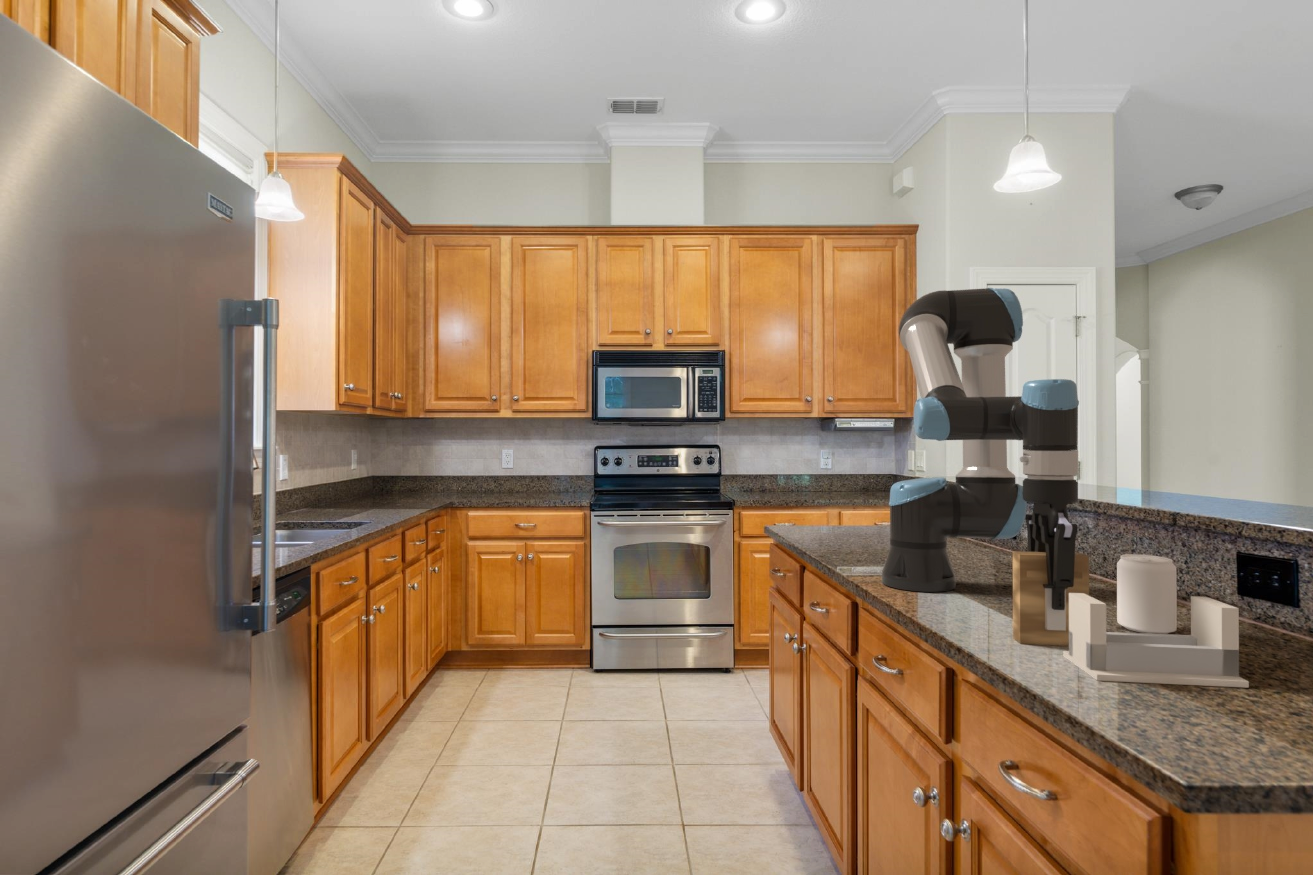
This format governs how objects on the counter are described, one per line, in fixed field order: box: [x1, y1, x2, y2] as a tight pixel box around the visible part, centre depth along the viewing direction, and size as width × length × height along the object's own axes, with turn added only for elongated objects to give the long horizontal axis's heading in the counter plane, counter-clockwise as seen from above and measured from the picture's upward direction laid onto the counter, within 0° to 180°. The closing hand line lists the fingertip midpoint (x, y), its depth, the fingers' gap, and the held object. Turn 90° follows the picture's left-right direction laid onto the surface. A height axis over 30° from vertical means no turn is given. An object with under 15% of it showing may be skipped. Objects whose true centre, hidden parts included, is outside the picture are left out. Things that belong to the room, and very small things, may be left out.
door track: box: [1062, 593, 1250, 689], centre depth 93 cm, size 10×18×10 cm, turn 81°
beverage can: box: [1116, 553, 1178, 634], centre depth 113 cm, size 8×8×12 cm
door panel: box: [1012, 550, 1090, 647], centre depth 106 cm, size 3×10×14 cm, turn 81°
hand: (1050, 625), depth 106 cm, fingers closed on door panel, 3 cm apart
